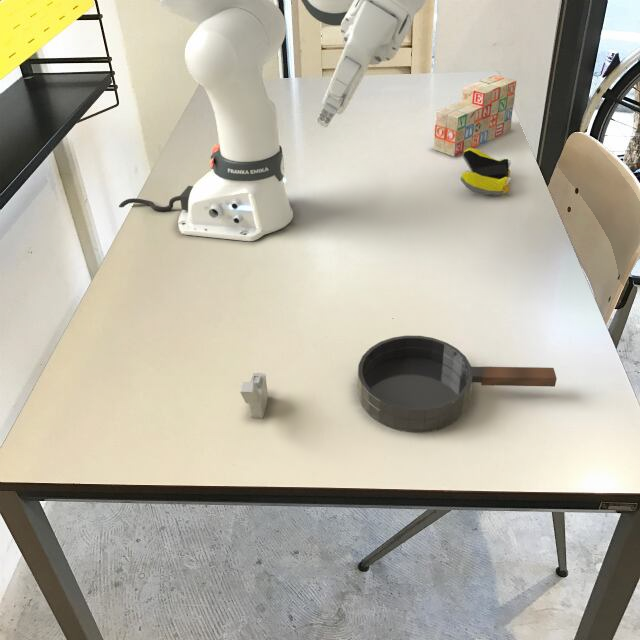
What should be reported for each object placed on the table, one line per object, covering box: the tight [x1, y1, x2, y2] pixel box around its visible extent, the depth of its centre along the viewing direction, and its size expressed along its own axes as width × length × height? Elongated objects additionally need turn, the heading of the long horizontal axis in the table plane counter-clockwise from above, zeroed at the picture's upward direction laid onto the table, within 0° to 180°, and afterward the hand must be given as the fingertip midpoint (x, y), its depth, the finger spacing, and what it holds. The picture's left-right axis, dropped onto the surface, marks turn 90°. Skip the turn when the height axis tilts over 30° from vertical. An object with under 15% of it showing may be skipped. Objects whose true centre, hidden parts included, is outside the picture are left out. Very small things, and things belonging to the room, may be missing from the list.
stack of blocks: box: [433, 75, 517, 157], centre depth 161 cm, size 21×6×12 cm, turn 133°
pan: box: [357, 335, 473, 433], centre depth 95 cm, size 15×15×4 cm
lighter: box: [239, 372, 269, 419], centre depth 91 cm, size 7×2×8 cm, turn 174°
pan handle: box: [471, 366, 558, 388], centre depth 93 cm, size 11×2×2 cm, turn 86°
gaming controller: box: [460, 147, 512, 198], centre depth 144 cm, size 15×6×10 cm
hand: (327, 110), depth 96 cm, fingers open, 8 cm apart
